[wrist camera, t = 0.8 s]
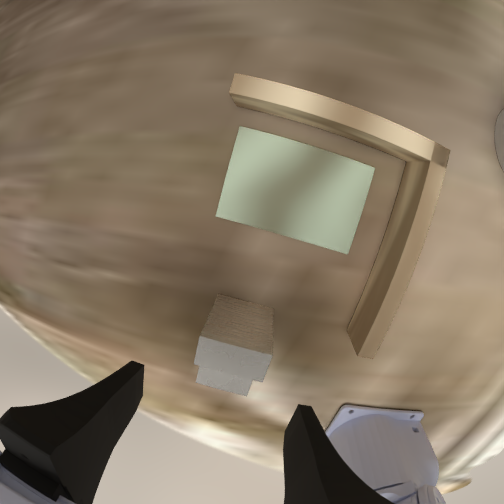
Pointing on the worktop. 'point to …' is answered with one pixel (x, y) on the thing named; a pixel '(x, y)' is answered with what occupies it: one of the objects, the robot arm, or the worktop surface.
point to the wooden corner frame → (333, 190)
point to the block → (235, 345)
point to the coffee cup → (500, 138)
